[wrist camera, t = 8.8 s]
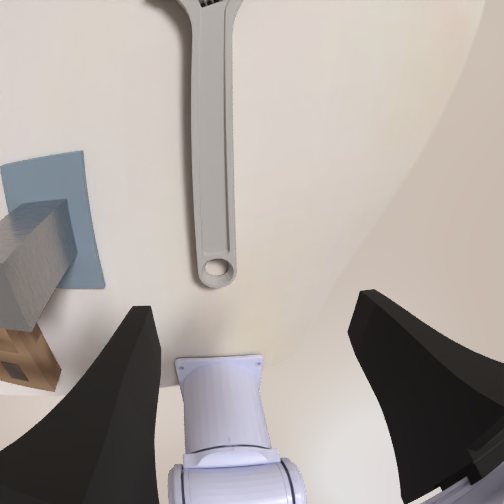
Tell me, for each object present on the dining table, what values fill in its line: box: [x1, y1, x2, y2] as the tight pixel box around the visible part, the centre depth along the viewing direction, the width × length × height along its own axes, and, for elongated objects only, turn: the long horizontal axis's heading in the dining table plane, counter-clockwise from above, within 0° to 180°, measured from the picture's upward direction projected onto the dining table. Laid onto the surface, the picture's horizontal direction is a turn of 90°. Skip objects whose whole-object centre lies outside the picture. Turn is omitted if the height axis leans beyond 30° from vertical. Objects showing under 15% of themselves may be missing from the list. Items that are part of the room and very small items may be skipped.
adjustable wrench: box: [176, 0, 243, 288], centre depth 15 cm, size 25×6×2 cm, turn 175°
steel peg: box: [0, 199, 78, 332], centre depth 13 cm, size 4×4×8 cm
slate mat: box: [0, 151, 105, 288], centre depth 17 cm, size 10×7×1 cm
